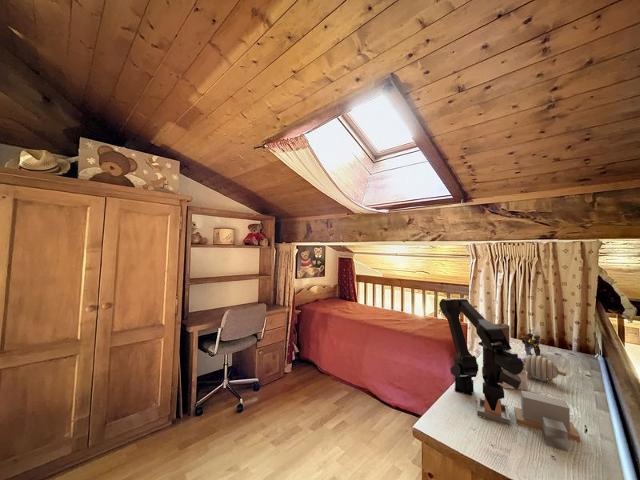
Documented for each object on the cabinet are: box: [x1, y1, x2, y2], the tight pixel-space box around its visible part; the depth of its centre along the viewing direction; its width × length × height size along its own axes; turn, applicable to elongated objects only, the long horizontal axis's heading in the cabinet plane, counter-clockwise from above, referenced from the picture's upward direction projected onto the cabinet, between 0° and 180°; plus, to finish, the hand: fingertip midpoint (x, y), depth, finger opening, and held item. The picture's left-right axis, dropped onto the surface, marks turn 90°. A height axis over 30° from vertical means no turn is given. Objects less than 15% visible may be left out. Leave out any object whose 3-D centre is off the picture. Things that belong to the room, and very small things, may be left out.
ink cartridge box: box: [498, 356, 528, 391], centre depth 114 cm, size 10×6×14 cm, turn 78°
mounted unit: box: [513, 390, 581, 443], centre depth 89 cm, size 16×8×9 cm, turn 58°
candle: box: [494, 323, 511, 351], centre depth 138 cm, size 8×7×20 cm
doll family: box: [521, 332, 542, 357], centre depth 144 cm, size 23×9×13 cm, turn 144°
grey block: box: [542, 417, 569, 453], centre depth 81 cm, size 5×5×6 cm
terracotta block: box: [483, 394, 502, 416], centre depth 95 cm, size 5×5×6 cm
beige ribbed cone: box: [522, 354, 567, 386], centre depth 119 cm, size 11×17×11 cm, turn 47°
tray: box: [476, 396, 511, 427], centre depth 95 cm, size 10×10×2 cm
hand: (492, 403), depth 95 cm, fingers open, 9 cm apart
